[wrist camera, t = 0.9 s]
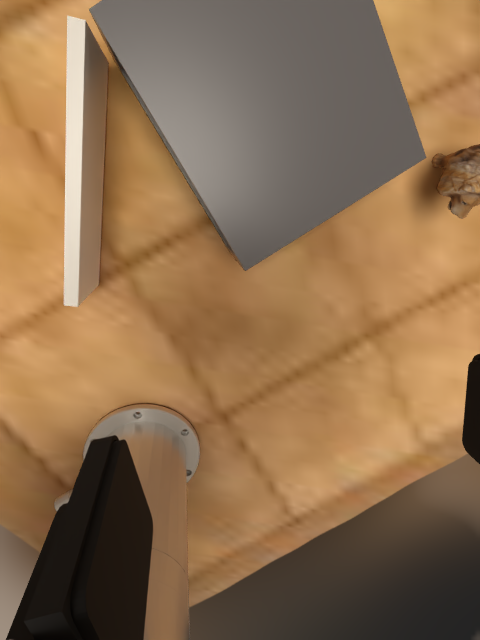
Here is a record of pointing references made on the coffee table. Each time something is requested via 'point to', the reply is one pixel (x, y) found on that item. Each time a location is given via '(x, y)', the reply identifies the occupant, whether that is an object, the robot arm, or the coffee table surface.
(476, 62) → the coffee table surface
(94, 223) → the side door
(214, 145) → the gray cabinet
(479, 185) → the lion figurine
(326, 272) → the coffee table surface
